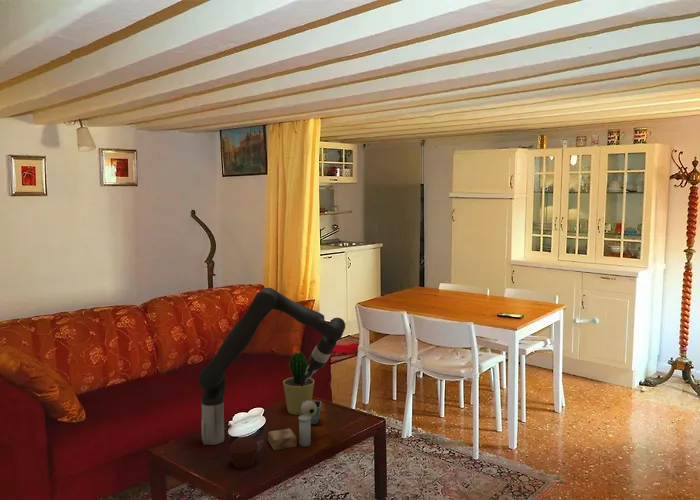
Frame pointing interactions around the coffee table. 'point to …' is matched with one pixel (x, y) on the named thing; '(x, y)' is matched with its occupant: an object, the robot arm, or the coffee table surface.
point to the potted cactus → (297, 385)
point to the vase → (305, 430)
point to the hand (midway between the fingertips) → (305, 380)
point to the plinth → (282, 439)
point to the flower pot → (316, 417)
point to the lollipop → (309, 408)
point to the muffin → (243, 452)
